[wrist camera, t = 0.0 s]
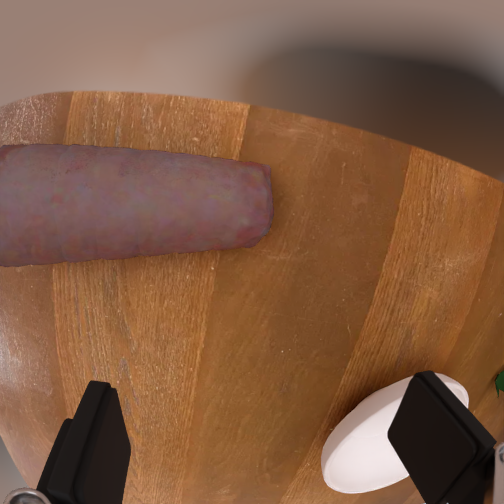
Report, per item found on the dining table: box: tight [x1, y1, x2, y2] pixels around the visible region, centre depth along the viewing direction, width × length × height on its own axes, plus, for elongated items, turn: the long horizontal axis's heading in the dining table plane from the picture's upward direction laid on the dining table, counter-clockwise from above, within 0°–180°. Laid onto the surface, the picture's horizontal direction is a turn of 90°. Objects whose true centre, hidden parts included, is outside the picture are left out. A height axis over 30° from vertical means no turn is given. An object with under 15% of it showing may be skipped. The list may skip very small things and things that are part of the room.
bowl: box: [321, 373, 469, 493], centre depth 32 cm, size 20×20×7 cm
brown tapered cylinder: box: [0, 144, 274, 267], centre depth 20 cm, size 21×9×9 cm, turn 90°
